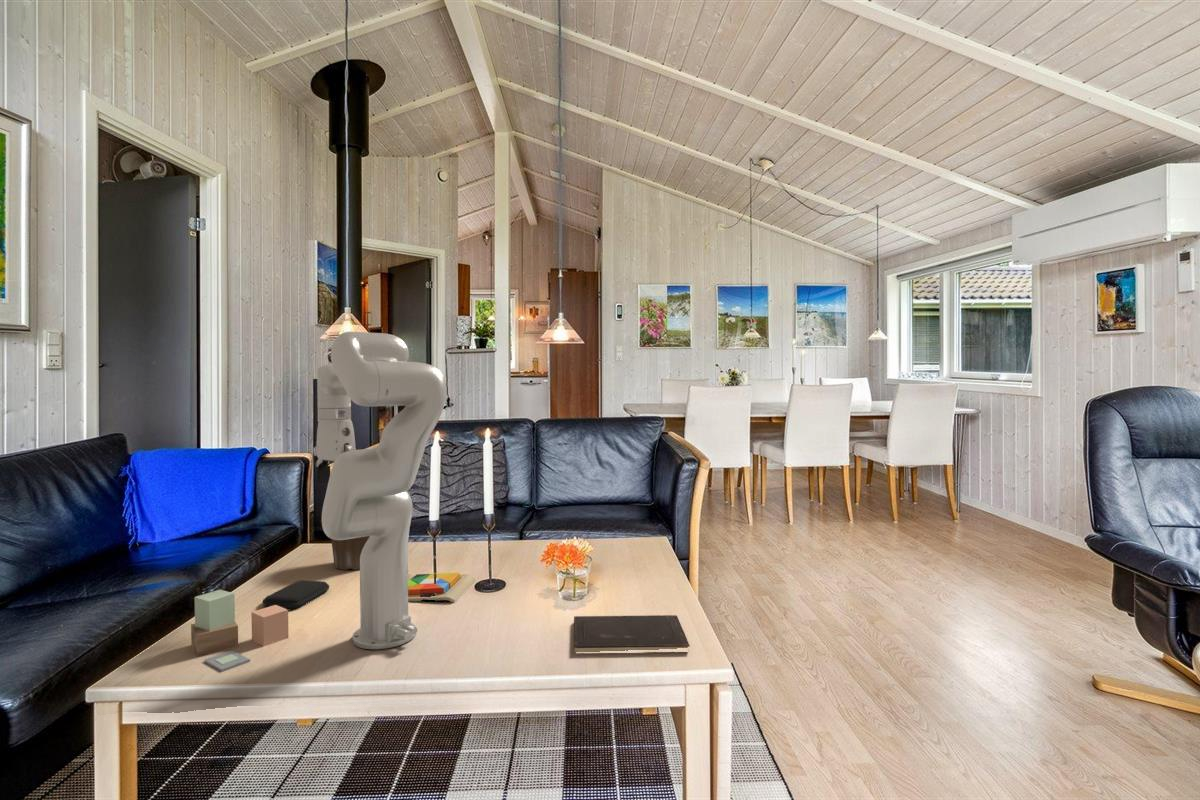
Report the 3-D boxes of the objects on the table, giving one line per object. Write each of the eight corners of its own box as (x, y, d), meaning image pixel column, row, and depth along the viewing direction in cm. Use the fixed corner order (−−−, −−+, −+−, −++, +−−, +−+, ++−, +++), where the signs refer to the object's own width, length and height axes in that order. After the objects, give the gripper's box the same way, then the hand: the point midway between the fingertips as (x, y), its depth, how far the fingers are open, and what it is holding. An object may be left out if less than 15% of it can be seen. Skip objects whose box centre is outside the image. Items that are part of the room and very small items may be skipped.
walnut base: (238, 647, 123) (237, 625, 123) (197, 657, 118) (196, 635, 118) (230, 636, 128) (230, 615, 128) (191, 646, 124) (191, 624, 124)
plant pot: (350, 576, 167) (350, 518, 166) (313, 567, 175) (312, 512, 174) (397, 561, 181) (396, 508, 180) (361, 553, 189) (360, 502, 189)
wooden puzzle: (409, 579, 166) (409, 567, 166) (476, 582, 164) (476, 569, 164) (380, 602, 149) (380, 588, 149) (454, 605, 147) (454, 591, 147)
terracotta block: (288, 638, 127) (288, 609, 127) (264, 646, 123) (263, 617, 123) (276, 632, 130) (275, 604, 130) (251, 640, 126) (251, 612, 126)
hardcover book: (689, 656, 121) (689, 644, 120) (573, 657, 120) (573, 646, 120) (676, 624, 136) (676, 614, 136) (574, 625, 136) (574, 615, 136)
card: (249, 661, 117) (249, 658, 116) (221, 671, 112) (221, 668, 112) (232, 652, 120) (232, 649, 120) (204, 661, 116) (204, 659, 116)
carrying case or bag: (294, 589, 158) (254, 610, 143) (294, 577, 158) (254, 597, 143) (332, 591, 156) (295, 613, 142) (332, 579, 156) (295, 600, 142)
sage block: (234, 622, 125) (234, 593, 124) (209, 631, 120) (209, 601, 120) (220, 617, 127) (219, 589, 127) (195, 626, 123) (194, 597, 122)
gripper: (369, 415, 148) (370, 485, 148) (328, 413, 158) (329, 479, 158) (341, 417, 142) (342, 490, 142) (300, 414, 151) (301, 483, 152)
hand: (335, 484), depth 150 cm, fingers open, 9 cm apart
